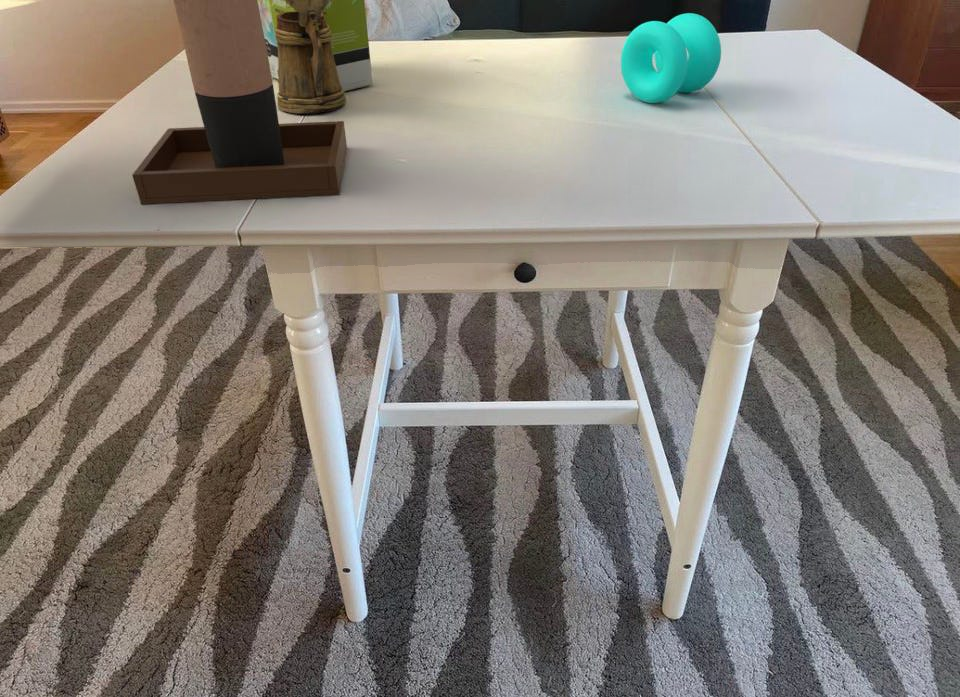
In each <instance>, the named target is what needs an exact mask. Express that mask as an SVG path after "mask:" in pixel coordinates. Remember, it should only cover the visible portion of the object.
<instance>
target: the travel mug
mask: <svg viewBox="0 0 960 697" xmlns="http://www.w3.org/2000/svg"><path fill="white" fill-rule="evenodd" d="M173 3H174V8H175V11H176V12H175V13H176V17H177V21H178V25H179V29H180V34H181V38H182V43H183V47H184V51H185V55H186V60H187V65H188V69H189V73H190V78H191V82H192V86H193V90H194V95H195V99H196V102H197V106H198V109H199V114H200V116H201V120H202V123H203V127H204V128H205V131H206V135H207V139H208V143H209V146H210V150H211V154H212V157H213V161H214V164H215V168H234V167H256V166H278V165H284V157H283V149H282V142H281V135H280V129H279V124H280V122H279V115H278V110H277V108H278V107H277V102H276V95H275V88H274V83H273V82H274V80H273V77H272V75H271V70H270V65H269V59H268V54H267V49H266V43H265V38H264V33H263V27H262V22H261V17H260V11H259V6H258V0H173Z"/></svg>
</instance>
